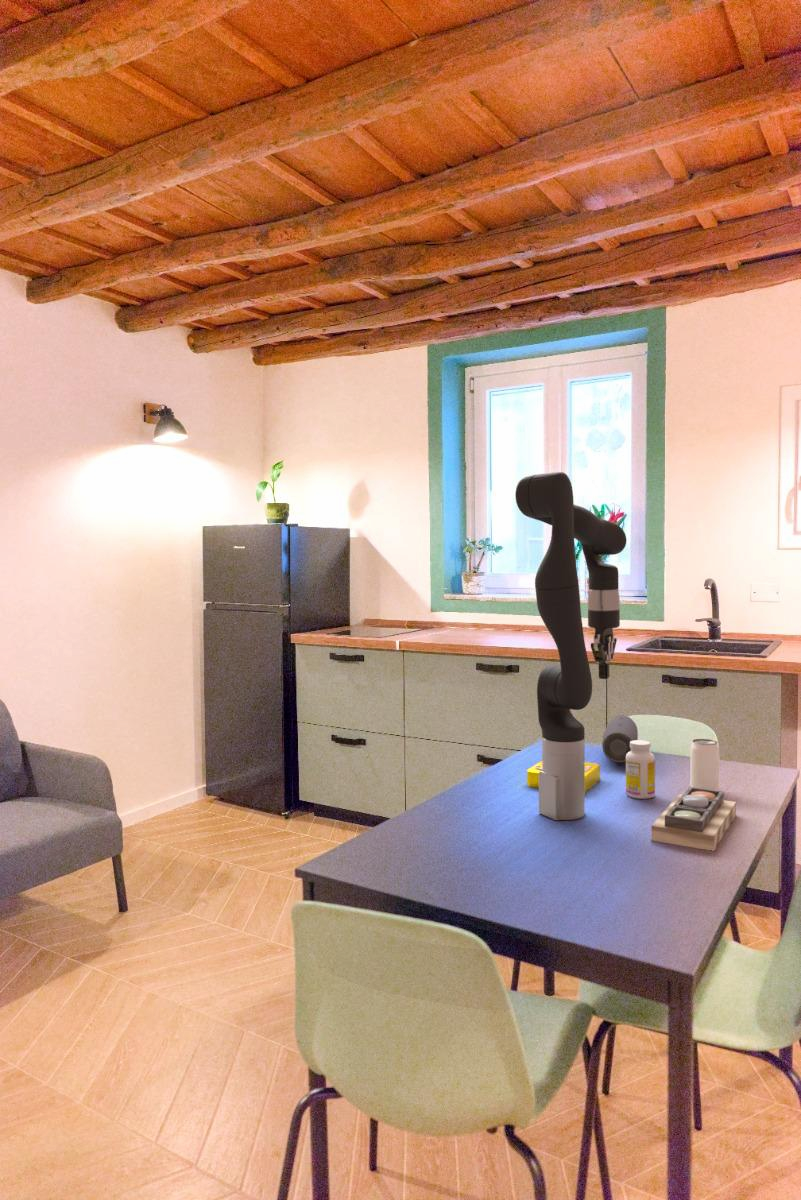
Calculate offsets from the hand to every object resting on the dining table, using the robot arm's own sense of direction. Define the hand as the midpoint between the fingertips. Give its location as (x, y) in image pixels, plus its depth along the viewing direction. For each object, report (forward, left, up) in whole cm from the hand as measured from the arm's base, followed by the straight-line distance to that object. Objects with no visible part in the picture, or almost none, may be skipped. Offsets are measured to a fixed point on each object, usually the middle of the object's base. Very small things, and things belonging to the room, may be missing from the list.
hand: (604, 678), depth 201 cm
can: (+18, -15, -27) cm, 36 cm away
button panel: (-4, -32, -27) cm, 42 cm away
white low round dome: (-4, -32, -22) cm, 39 cm away
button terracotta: (+3, -28, -24) cm, 37 cm away
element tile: (-6, +8, -28) cm, 29 cm away
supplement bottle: (+2, -10, -27) cm, 29 cm away
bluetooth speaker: (+23, +19, -27) cm, 40 cm away
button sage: (-10, -36, -24) cm, 44 cm away
